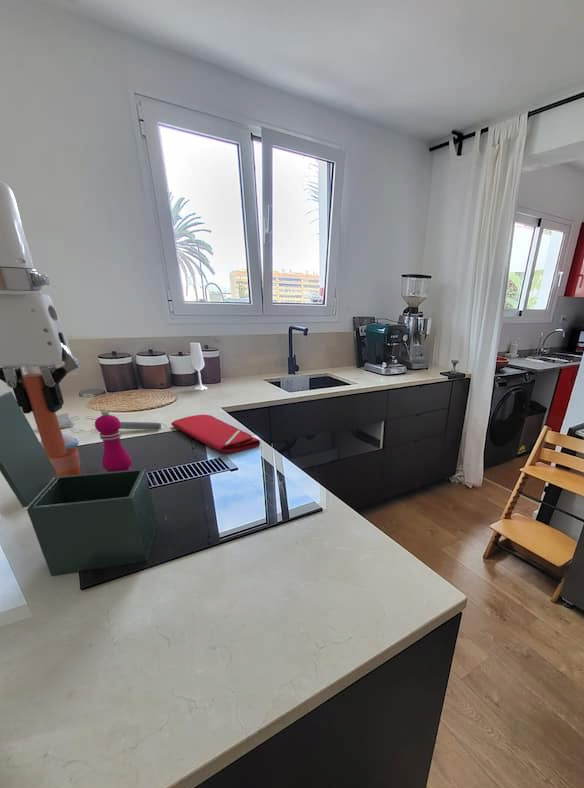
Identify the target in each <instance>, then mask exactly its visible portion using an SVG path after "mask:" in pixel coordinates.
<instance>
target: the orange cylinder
mask: <svg viewBox="0 0 584 788" xmlns="http://www.w3.org/2000/svg"><path fill="white" fill-rule="evenodd" d="M21 377H22V381H23V384H24V387H25V390H26V393H27V396H28V399H29V403H30V406H31V409H32V412H31V413H32V415H33V418H34V421H35V424H36V428H37V431H38V433H39V437H40V441H41V440H42V444H43V447H44V450H45V453H46V456H47V457H58V456H62V455H64V454H66V453H67V450H66V447H65V443H64V440H63V436H62V433H61V431H62V430H61V429H62V428H60V426H59V423H58V419H57V416H56V415H57V412H50V411H49V408H48V405H47V402H46V399H45V395H44V392H43V387H45V381H44V379H43V376H42V374H41V373H26V374H24V375H23V376H21Z"/></svg>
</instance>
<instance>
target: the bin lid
mask: <svg viewBox="0 0 584 788" xmlns="http://www.w3.org/2000/svg"><path fill="white" fill-rule="evenodd" d="M40 443H41V441H40V440H39V438H38V436H37V435H36V432H35V431H34V429H33V427H32V425H31V424H30V422H29V420H28V419H27V417H26V415H25V414H24V413H23V410H22V407H19V405H18V403H17V400H16V397H15V394H14V392H12V391H7V392H5V393H3V394H1V395H0V473H1V475H2V476H3V478H4V479H5V481H6V482H7V484H8V486H9V487H10V489H11V491H12V492H13V494H14V495H15V498H16V499H17V500H18V502H19V503H20V505H21V507H22V508H28V507H29V506H30V505H31V504H32V503H33V502H34V501H35V500H36V498H37V497H38V496H39V495H40V494H41V493H42V492H43V491H44V490H45V489H46V487H47V486H48V485H49V484H50V483H51V482H52V481H53V480H54V479H55V478H54V477H55V476H56V475H57V472H56V471H55V469H54V467H53V465H52V463H51V462H50V460H49V458H48V457H47V456H46V453H45V451H44V449H43V447H42V446H41V444H40Z"/></svg>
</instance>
